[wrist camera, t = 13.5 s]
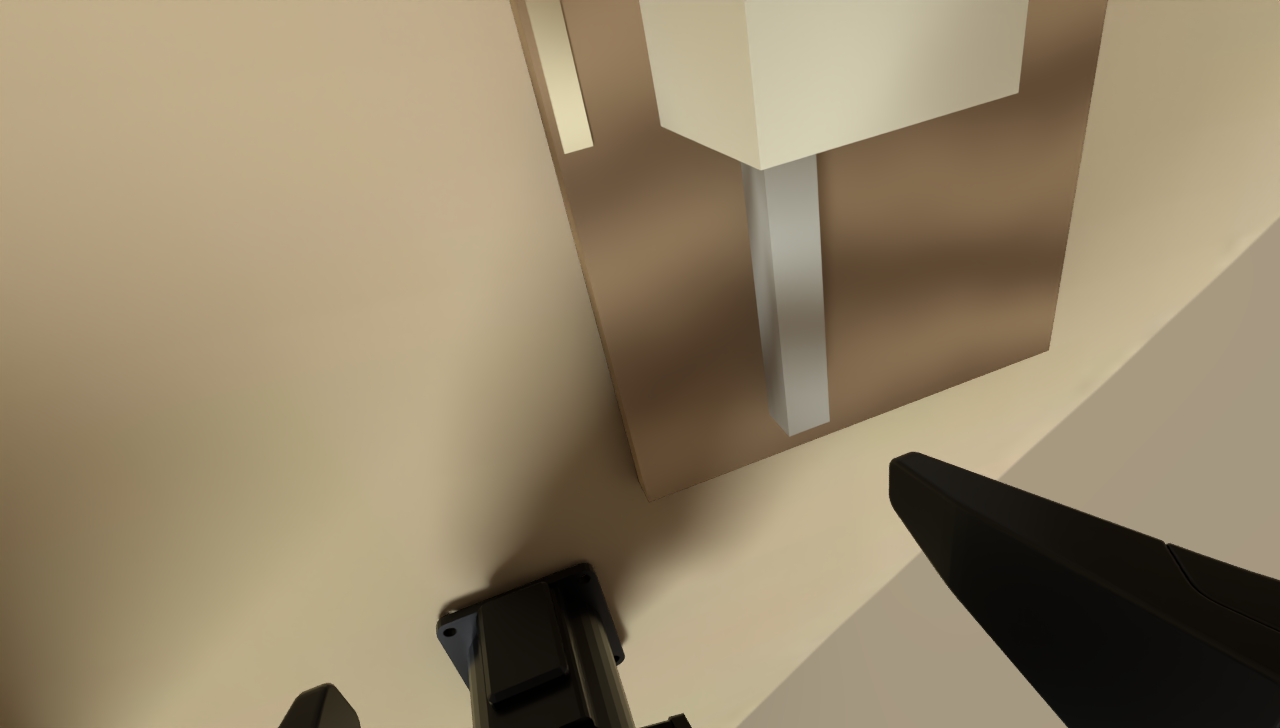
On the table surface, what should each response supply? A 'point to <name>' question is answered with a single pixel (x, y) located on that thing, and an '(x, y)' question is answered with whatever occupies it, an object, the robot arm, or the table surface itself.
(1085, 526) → the robot arm
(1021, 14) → the notched block
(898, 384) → the cleat board
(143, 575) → the table surface
